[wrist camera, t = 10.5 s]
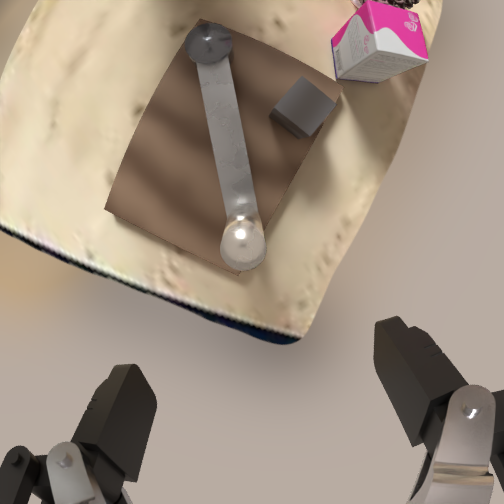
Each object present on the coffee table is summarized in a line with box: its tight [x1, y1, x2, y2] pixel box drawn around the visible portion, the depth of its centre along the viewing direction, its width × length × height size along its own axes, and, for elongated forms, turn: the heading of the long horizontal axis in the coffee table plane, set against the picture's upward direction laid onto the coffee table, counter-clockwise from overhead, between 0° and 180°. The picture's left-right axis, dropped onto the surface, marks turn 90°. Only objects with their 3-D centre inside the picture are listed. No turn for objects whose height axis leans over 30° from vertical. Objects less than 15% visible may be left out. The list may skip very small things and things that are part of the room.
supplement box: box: [331, 0, 429, 83], centre depth 22 cm, size 6×6×12 cm
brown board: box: [104, 19, 344, 276], centre depth 27 cm, size 25×18×8 cm
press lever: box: [185, 23, 266, 271], centre depth 22 cm, size 22×4×12 cm, turn 10°
